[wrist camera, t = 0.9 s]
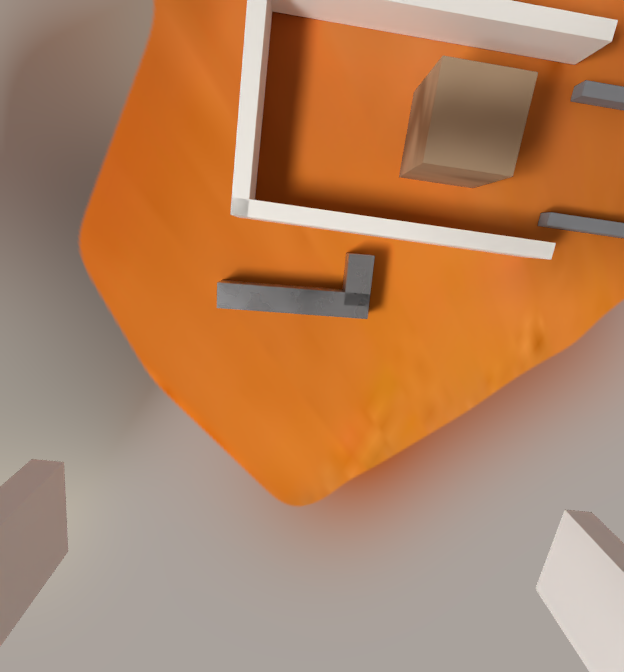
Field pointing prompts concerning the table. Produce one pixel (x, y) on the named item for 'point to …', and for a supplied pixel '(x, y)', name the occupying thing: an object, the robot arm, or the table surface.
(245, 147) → the cubby
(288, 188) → the table surface
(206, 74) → the table surface
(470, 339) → the table surface
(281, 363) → the table surface
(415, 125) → the walnut cube
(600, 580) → the robot arm
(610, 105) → the grey bracket
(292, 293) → the crook tool
